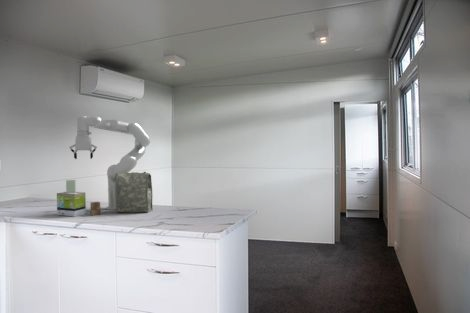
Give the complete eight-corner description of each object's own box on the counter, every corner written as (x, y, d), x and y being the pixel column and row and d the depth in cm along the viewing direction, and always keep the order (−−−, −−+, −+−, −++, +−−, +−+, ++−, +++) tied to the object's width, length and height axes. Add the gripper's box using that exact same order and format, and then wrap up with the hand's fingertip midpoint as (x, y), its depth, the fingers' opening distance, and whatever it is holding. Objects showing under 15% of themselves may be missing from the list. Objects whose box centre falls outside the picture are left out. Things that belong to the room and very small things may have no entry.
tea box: (56, 215, 221) (56, 192, 220) (68, 212, 230) (68, 191, 230) (74, 216, 216) (74, 193, 216) (86, 213, 225) (86, 191, 225)
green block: (75, 191, 226) (75, 179, 226) (74, 192, 221) (74, 180, 221) (67, 192, 224) (67, 179, 224) (66, 192, 220) (66, 180, 219)
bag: (153, 208, 242) (153, 170, 241) (148, 213, 225) (147, 172, 225) (122, 209, 241) (121, 170, 241) (114, 213, 225) (113, 172, 225)
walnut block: (98, 213, 226) (98, 201, 225) (100, 214, 221) (100, 202, 221) (90, 214, 223) (90, 202, 223) (92, 215, 219) (92, 203, 219)
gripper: (97, 134, 239) (97, 158, 239) (70, 134, 233) (70, 159, 234) (96, 133, 232) (96, 158, 232) (68, 133, 226) (68, 159, 227)
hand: (83, 158), depth 233 cm, fingers open, 9 cm apart
